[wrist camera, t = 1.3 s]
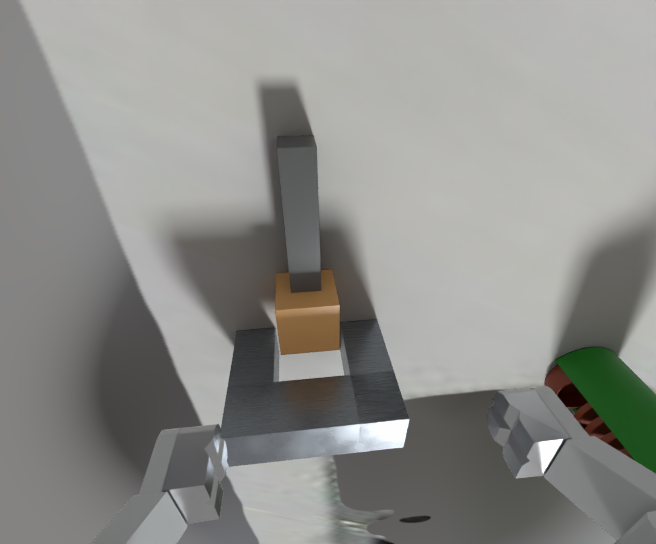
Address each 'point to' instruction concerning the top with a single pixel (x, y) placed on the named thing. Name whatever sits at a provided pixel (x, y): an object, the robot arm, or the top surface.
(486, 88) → the top surface
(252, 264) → the top surface
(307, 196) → the plug
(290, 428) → the grey u-shaped block
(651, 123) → the top surface
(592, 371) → the motor
